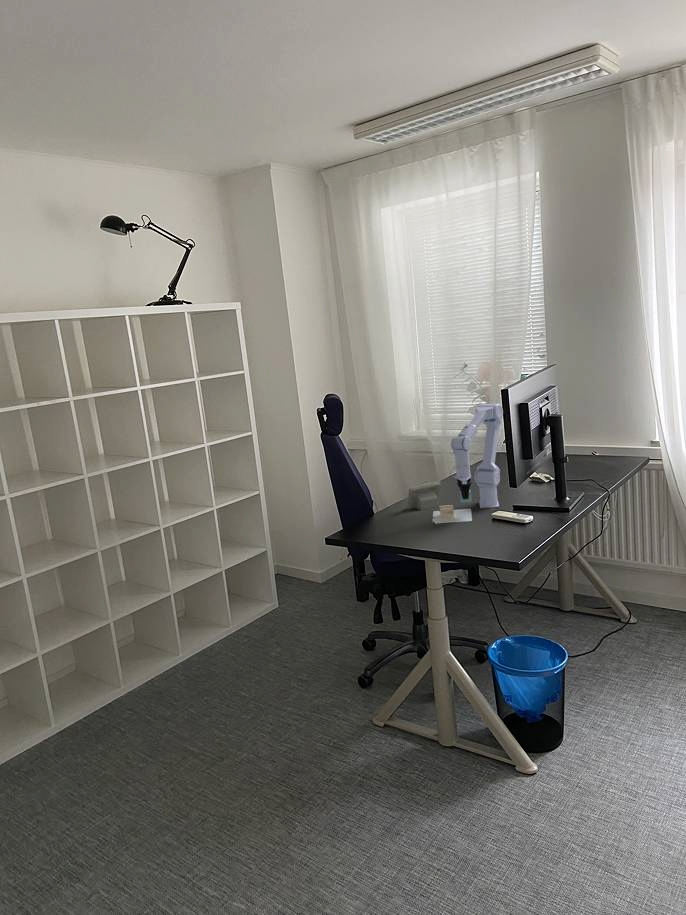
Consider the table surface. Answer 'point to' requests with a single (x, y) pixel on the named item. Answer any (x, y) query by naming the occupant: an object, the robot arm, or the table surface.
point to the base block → (446, 511)
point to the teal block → (466, 499)
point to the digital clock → (424, 496)
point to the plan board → (459, 516)
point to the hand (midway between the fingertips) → (465, 497)
